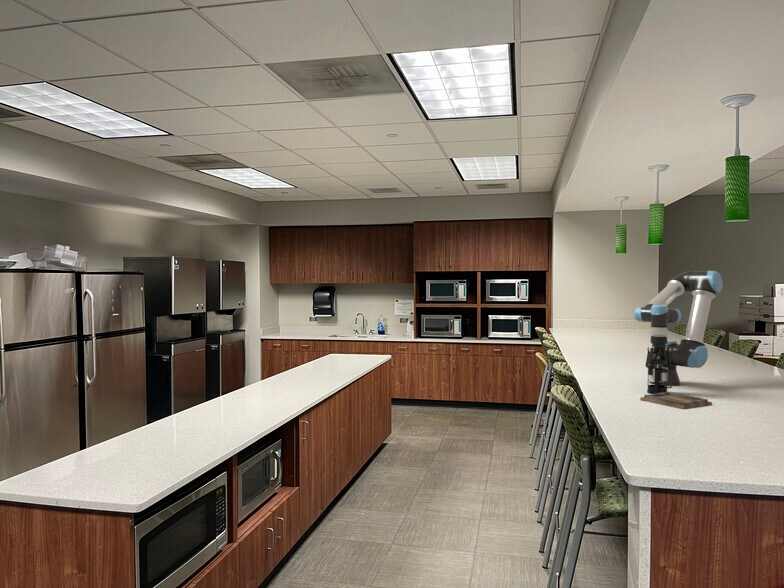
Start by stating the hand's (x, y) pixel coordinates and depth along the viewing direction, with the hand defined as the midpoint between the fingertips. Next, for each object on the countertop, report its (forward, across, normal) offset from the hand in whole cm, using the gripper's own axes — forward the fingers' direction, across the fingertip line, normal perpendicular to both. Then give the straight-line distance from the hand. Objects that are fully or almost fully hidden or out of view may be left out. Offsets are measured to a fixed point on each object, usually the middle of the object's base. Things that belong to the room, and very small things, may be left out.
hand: (658, 380), depth 288 cm
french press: (+6, 0, 0) cm, 6 cm away
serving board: (+6, +13, +19) cm, 24 cm away
